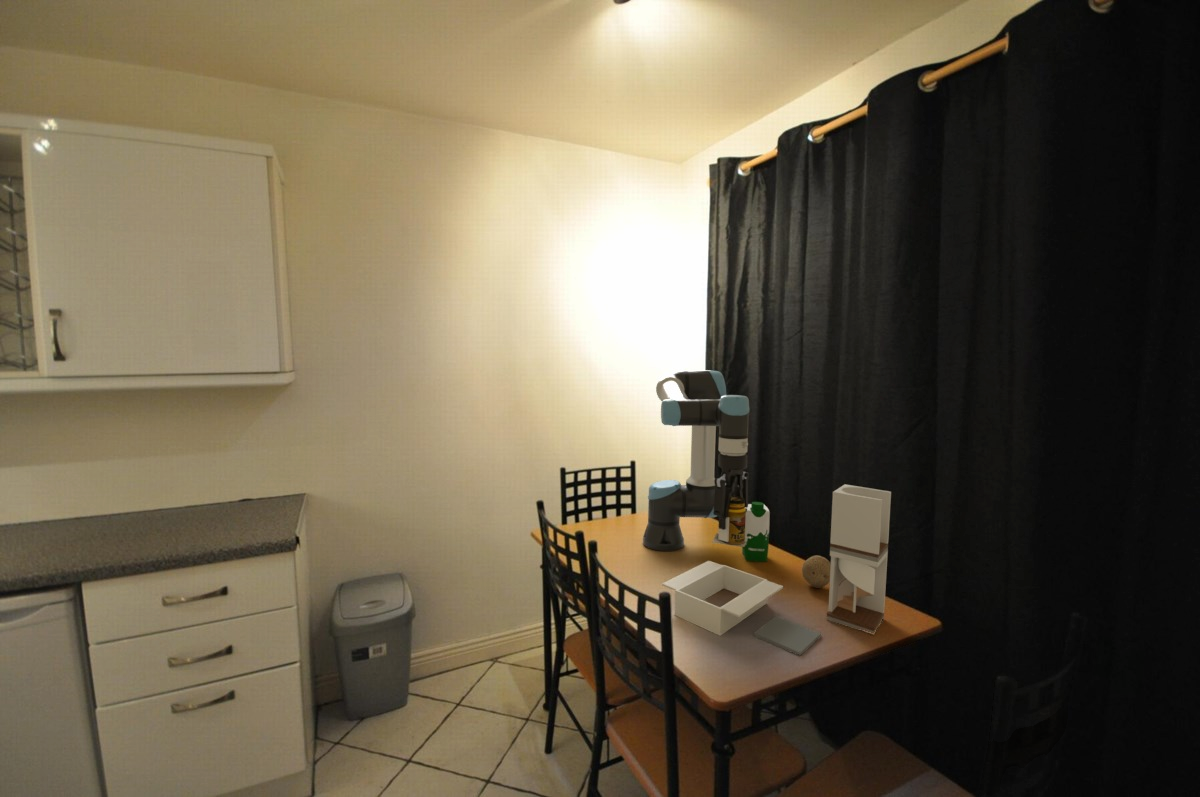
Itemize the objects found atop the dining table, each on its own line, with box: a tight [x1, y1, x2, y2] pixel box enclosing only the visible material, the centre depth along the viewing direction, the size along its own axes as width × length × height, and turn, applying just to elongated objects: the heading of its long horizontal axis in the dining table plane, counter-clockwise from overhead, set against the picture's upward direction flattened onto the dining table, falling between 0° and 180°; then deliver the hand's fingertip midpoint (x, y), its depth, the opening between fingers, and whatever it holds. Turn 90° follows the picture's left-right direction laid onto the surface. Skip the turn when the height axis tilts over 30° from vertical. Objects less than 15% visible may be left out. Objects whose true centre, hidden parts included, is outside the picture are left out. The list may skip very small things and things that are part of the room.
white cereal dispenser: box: [826, 483, 892, 633], centre depth 136 cm, size 11×11×35 cm
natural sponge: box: [801, 555, 831, 589], centre depth 156 cm, size 9×9×10 cm
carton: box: [661, 560, 784, 637], centre depth 143 cm, size 24×24×7 cm
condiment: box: [711, 495, 747, 548], centre depth 139 cm, size 7×8×12 cm
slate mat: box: [753, 615, 822, 656], centre depth 130 cm, size 12×12×1 cm
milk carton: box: [741, 501, 771, 563], centre depth 179 cm, size 9×9×20 cm
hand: (730, 537), depth 140 cm, fingers closed on condiment, 6 cm apart
